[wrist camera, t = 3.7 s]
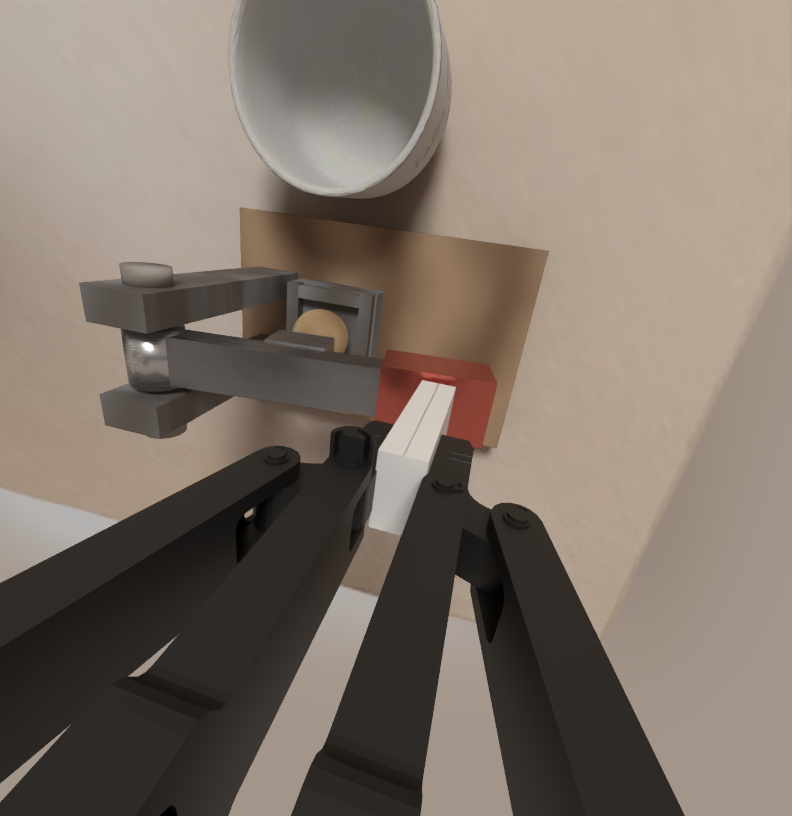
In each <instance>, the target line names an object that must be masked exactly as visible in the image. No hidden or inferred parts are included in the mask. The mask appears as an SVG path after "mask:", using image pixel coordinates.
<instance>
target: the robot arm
mask: <svg viewBox="0 0 792 816" xmlns="http://www.w3.org/2000/svg"><path fill="white" fill-rule="evenodd" d="M455 390H456V387H453V386H448V385H444V384H439V383H434V382H429V381H424V380H422V382H421V383H420V385H419V386H418V388H417V389H416V391H415V393H414V394H413V396H412V397H411V399H410V401H409V402H408V404H407V405H406V407H405V408H404V410H403V412H402V413H401V415H400V416H399V418H398V419H397V421H396V423H395V424H390V423H386V422H382V421H377V420H375V421H373V422H371V423H368V424H366V425H365V427H364V428H361V427H354V426H343V427H339V428H336V429H334V430H333V431H331V441H330V454H329V457H328V458H327V460H326V461H325V462H324V463H322V464H311V463H300V455H299V453H298V452H297V451H295V450H294V449H292V448H288V447H285V446H272V447H266V448H263V449H261V450H258V451H256V452H254V453H252V454H251V455H249V456H247V457H245V458H243V459H241V460H239V461H237V462H235V463H233V464H231V465H229V466H227V467H225V468H223V469H221V470H219V471H217V472H216V473H214V474H212V475H210V476H208V477H206V478H204V479H202V480H200V481H198V482H196V483H194V484H192V485H190V486H188V487H186V488H184V489H182V490H181V491H179V492H177V493H175V494H173V495H171V496H169V497H167V498H165V499H163V500H161V501H159V502H157V503H155V504H153V505H151V506H149V507H147V508H146V509H144V510H142V511H140V512H138V513H136V514H134V515H132V516H130V517H128V518H126V519H124V520H122V521H120V522H118V523H117V524H114V525H112V526H111V527H109V528H107V529H105V530H103V531H101V532H99V533H97V534H95V535H93V536H91V537H89V538H87V539H85V540H83V541H81V542H79V543H78V544H75V545H74V546H72V547H70V548H68V549H66V550H64V551H62V552H60V553H58V554H56V555H54V556H52V557H50V558H48V559H47V560H44V561H42V562H40V563H39V564H37V565H35V566H33V567H31V568H29V569H27V570H25V571H23V572H21V573H19V574H17V575H15V576H13V577H11V578H9V579H7V580H6V581H4V582H2V583H0V783H1V782H2V781H4V780H5V779H6V778H7V777H8V776H10V775H11V774H12V773H13V772H14V771H15V770H17V769H18V768H19V767H20V766H22V765H23V764H24V763H25V762H26V761H27V760H29V759H30V758H31V757H32V756H33V755H35V754H36V753H37V752H38V751H39V750H41V749H42V748H43V747H44V746H45V745H47V744H48V743H49V742H50V741H51V740H52V739H54V738H55V737H56V736H57V735H59V734H60V733H61V732H62V731H63V730H64V729H66V728H67V727H68V726H69V725H70V727H69V728H68V729H67V730H66V731H65V732H64V733H63V734H62V735H61V736H60V737H59V739H58V740H57V741H56V742H55V743H54V744H53V745H52V746H51V748H49V750H48V751H47V752H46V753H45V754H44V755H43V756H42V757H41V758H40V759H39V761H38V762H37V763H36V764H35V765H34V766H33V767H32V768H31V769H30V770H29V771H28V773H27V774H26V775H25V776H24V777H23V778H22V779H21V780H20V781H19V783H18V784H17V785H16V786H15V787H14V788H13V789H12V790H11V791H10V792H9V794H8V795H7V796H6V797H5V798H4V799H3V800H2V801H1V802H0V816H228V815H229V812H230V809H231V807H232V804H233V802H234V800H235V797H236V795H237V793H238V791H239V789H240V787H241V785H242V783H243V781H244V779H245V776H246V775H247V772H248V770H249V768H250V766H251V764H252V762H253V760H254V758H255V756H256V754H257V752H258V750H259V748H260V746H261V744H262V742H263V740H264V738H265V736H266V734H267V732H268V730H269V728H270V726H271V724H272V722H273V720H274V718H275V715H276V713H277V712H278V709H279V707H280V705H281V703H282V701H283V699H284V697H285V695H286V693H287V691H288V689H289V687H290V685H291V683H292V681H293V679H294V677H295V675H296V673H297V671H298V669H299V667H300V665H301V663H302V661H303V658H304V656H305V654H306V653H307V651H308V649H309V646H310V644H311V642H312V640H313V638H314V636H315V634H316V632H317V630H318V628H319V626H320V624H321V622H322V620H323V618H324V616H325V614H326V612H327V610H328V608H329V606H330V604H331V602H332V600H333V598H334V596H335V593H336V592H337V590H338V588H339V586H340V583H341V581H342V579H343V577H344V575H345V573H346V571H347V569H348V567H349V565H350V563H351V561H352V559H353V557H354V555H355V553H356V551H357V549H358V547H359V545H360V543H361V541H362V539H363V535H364V528H365V523H366V521H367V519H368V517H369V515H370V518H369V525H368V527H371V528H375V529H378V530H382V531H385V532H389V533H392V534H396V535H400V536H401V538H400V541H399V543H398V546H397V549H396V552H395V554H394V557H393V560H392V563H391V565H390V568H389V571H388V573H387V576H386V579H385V582H384V584H383V587H382V590H381V593H380V595H379V598H378V601H377V604H376V606H375V609H374V612H373V615H372V617H371V620H370V623H369V625H368V628H367V631H366V634H365V636H364V639H363V642H362V645H361V647H360V650H359V653H358V656H357V658H356V661H355V664H354V667H353V669H352V672H351V675H350V678H349V680H348V683H347V686H346V688H345V691H344V694H343V697H342V699H341V702H340V705H339V708H338V710H337V713H336V716H335V719H334V721H333V724H332V727H331V729H330V732H329V735H328V737H327V740H326V742H325V744H324V746H323V748H322V749H321V750H320V751H319V752H318V753H317V754H316V756H315V758H314V760H313V762H312V764H311V766H310V768H309V771H308V773H307V776H306V778H305V781H304V783H303V786H302V788H301V791H300V793H299V796H298V799H297V801H296V804H295V807H294V809H293V812H292V815H291V816H420V813H421V804H422V781H423V774H424V767H425V761H426V755H427V748H428V742H429V736H430V730H431V723H432V717H433V711H434V704H435V698H436V691H437V685H438V679H439V673H440V666H441V660H442V654H443V647H444V640H445V634H446V628H447V622H448V616H449V609H450V603H451V597H452V590H453V584H454V578H455V575H457V576H459V577H460V578H462V579H464V580H465V581H467V582H469V583H470V584H471V588H470V592H471V597H472V603H473V608H474V613H475V618H476V623H477V629H478V634H479V639H480V644H481V649H482V654H483V660H484V665H485V671H486V676H487V681H488V686H489V692H490V697H491V702H492V707H493V712H494V717H495V723H496V728H497V733H498V739H499V744H500V749H501V754H502V760H503V765H504V770H505V775H506V780H507V786H508V791H509V796H510V801H511V807H512V812H513V816H685V815H684V813H683V811H682V809H681V807H680V805H679V803H678V801H677V799H676V797H675V795H674V793H673V791H672V789H671V787H670V785H669V782H668V780H667V779H666V776H665V774H664V772H663V770H662V768H661V766H660V764H659V762H658V760H657V758H656V756H655V754H654V752H653V750H652V747H651V745H650V743H649V741H648V739H647V737H646V735H645V733H644V731H643V729H642V727H641V725H640V723H639V721H638V719H637V716H636V714H635V712H634V710H633V708H632V706H631V704H630V702H629V700H628V698H627V696H626V694H625V692H624V690H623V688H622V686H621V684H620V682H619V679H618V677H617V675H616V673H615V671H614V669H613V667H612V665H611V663H610V661H609V659H608V657H607V655H606V653H605V651H604V648H603V646H602V644H601V642H600V640H599V638H598V636H597V634H596V632H595V630H594V628H593V626H592V624H591V622H590V620H589V617H588V615H587V613H586V611H585V609H584V607H583V605H582V603H581V601H580V599H579V597H578V595H577V593H576V591H575V589H574V587H573V584H572V582H571V580H570V578H569V576H568V574H567V572H566V570H565V568H564V566H563V564H562V562H561V560H560V558H559V556H558V554H557V552H556V549H555V547H554V545H553V543H552V541H551V539H550V537H549V535H548V533H547V531H546V529H545V527H544V525H543V523H542V521H541V520H540V518H539V517H538V516H537V515H536V514H535V513H534V512H532V511H531V510H530V509H527V508H526V507H523V506H521V505H518V504H513V503H500V504H498V505H495V506H494V507H493V508H492V510H491V509H489V508H487V507H485V506H483V505H481V504H479V503H478V502H477V501H476V500H474V499H473V498H472V496H471V495H470V494H469V491H468V481H469V475H470V469H471V463H472V456H473V450H474V448H473V447H472V445H471V443H470V441H468V440H464V439H460V438H455V437H451V436H447V435H446V434H447V429H448V424H449V419H450V414H451V410H452V405H453V400H454V395H455ZM252 508H253V514H252V515H251V516H249V517H247V518H245V517H244V514H245V513H246V512H247V511H249V510H250V509H252ZM178 634H179V635H178ZM177 635H178V636H177ZM176 636H177V637H176ZM175 637H176V638H175ZM173 638H175V639H174V641H173V642H172V643H171V644H170V645H169V646H168V648H167V649H166V650H165V651H164V652H163V654H162V655H161V656H160V657H159V659H158V660H157V661H156V662H155V663H154V664H153V665H152V666H151V667H150V668H149V669H148V670H147V671H146V672H145V673H143V674H142V675H140V676H138V677H128V676H129V675H130V674H131V673H133V672H134V671H135V670H136V669H137V668H139V667H140V666H141V665H142V664H143V663H145V662H146V661H147V660H148V659H149V658H151V657H152V656H153V655H154V654H155V653H156V652H158V651H159V650H160V649H161V648H163V647H164V646H165V645H166V644H167V643H169V642H170V641H171V640H172V639H173Z"/></svg>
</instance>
